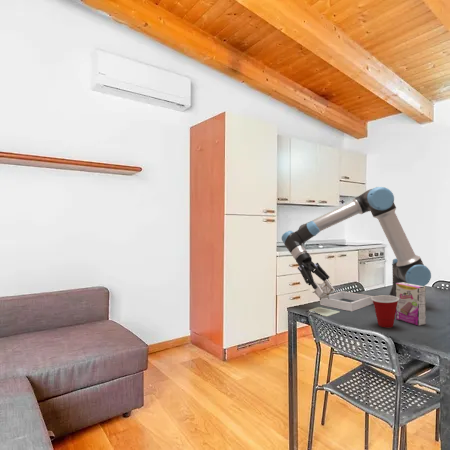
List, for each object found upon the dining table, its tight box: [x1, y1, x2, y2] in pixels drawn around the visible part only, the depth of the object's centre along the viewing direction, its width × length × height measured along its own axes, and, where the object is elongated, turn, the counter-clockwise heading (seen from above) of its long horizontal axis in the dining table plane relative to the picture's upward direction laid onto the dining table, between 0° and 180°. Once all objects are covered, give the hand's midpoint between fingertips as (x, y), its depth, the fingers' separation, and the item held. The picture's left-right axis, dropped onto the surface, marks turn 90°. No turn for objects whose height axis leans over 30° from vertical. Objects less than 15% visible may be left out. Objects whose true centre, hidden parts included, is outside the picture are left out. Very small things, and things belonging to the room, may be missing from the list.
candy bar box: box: [395, 282, 427, 327], centre depth 150 cm, size 11×5×16 cm, turn 26°
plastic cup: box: [371, 294, 399, 329], centre depth 146 cm, size 11×11×12 cm
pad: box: [308, 306, 341, 317], centre depth 168 cm, size 12×11×1 cm
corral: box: [319, 290, 374, 312], centre depth 182 cm, size 18×22×4 cm
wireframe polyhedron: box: [312, 282, 333, 301], centre depth 169 cm, size 9×8×10 cm
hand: (327, 292), depth 165 cm, fingers closed on wireframe polyhedron, 8 cm apart
